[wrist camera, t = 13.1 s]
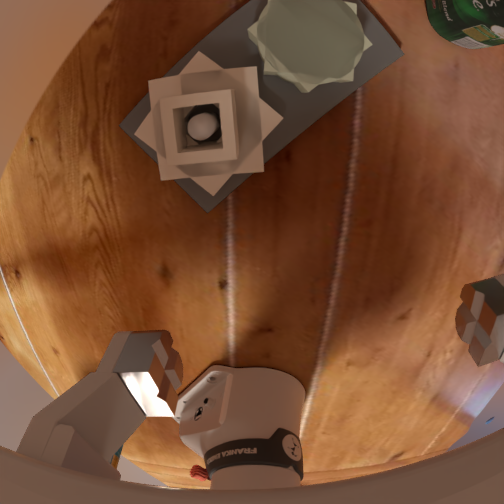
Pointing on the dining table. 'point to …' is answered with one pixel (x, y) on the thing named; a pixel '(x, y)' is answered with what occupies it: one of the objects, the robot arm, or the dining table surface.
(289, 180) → the dining table surface
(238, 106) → the gear
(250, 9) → the board
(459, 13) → the coffee jar
